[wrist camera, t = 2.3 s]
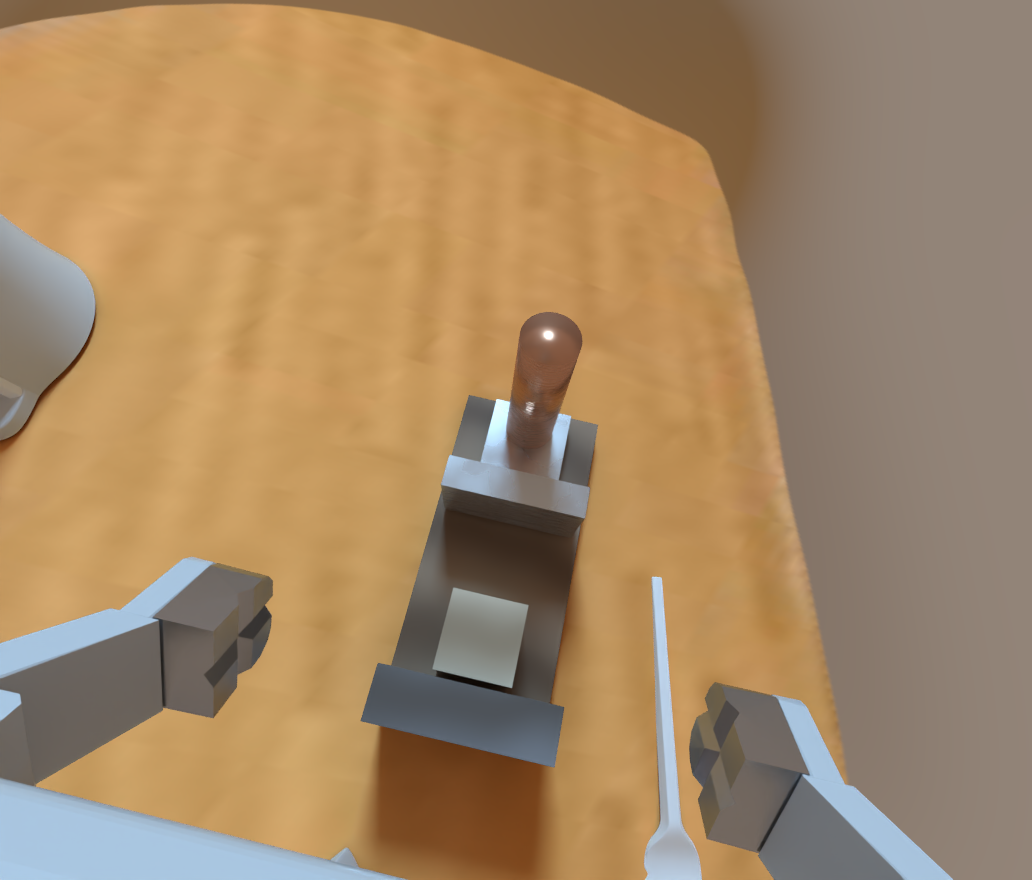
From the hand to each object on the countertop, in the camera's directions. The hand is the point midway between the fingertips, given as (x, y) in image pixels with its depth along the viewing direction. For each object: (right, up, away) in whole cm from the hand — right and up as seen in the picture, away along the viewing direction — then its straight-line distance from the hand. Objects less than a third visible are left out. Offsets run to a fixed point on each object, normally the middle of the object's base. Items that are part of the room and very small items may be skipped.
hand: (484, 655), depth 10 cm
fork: (+9, -14, +22) cm, 28 cm away
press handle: (+1, +2, +26) cm, 26 cm away
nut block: (-1, -8, +21) cm, 23 cm away
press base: (0, -3, +25) cm, 25 cm away
